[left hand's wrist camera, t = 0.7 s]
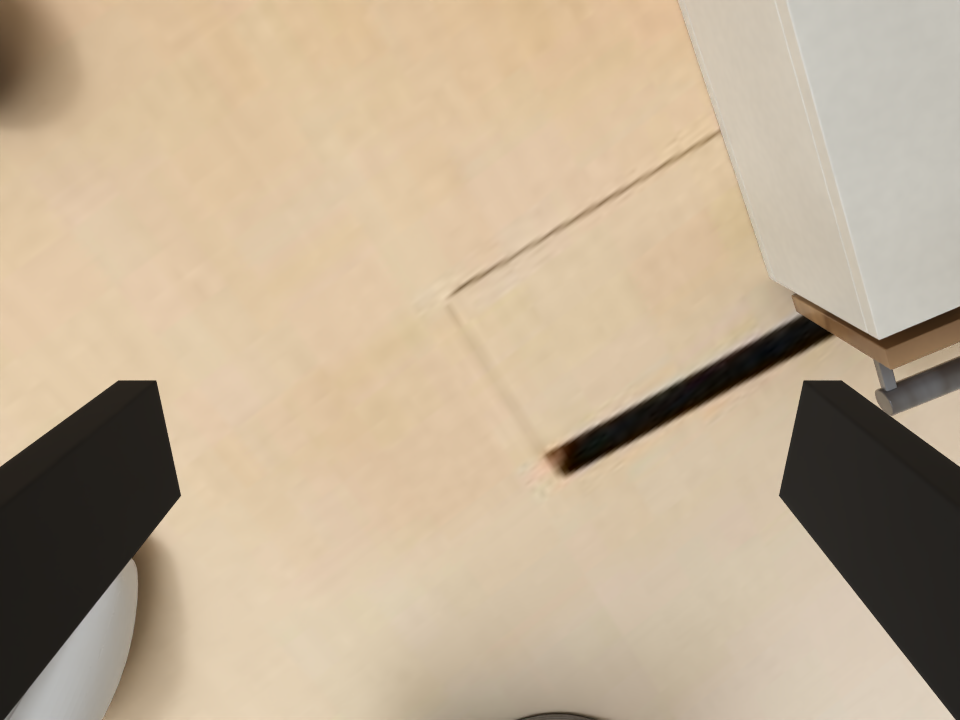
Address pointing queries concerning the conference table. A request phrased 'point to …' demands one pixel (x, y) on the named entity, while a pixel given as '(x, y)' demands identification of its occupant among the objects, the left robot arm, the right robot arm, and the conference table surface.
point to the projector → (87, 660)
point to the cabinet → (844, 146)
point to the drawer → (899, 355)
